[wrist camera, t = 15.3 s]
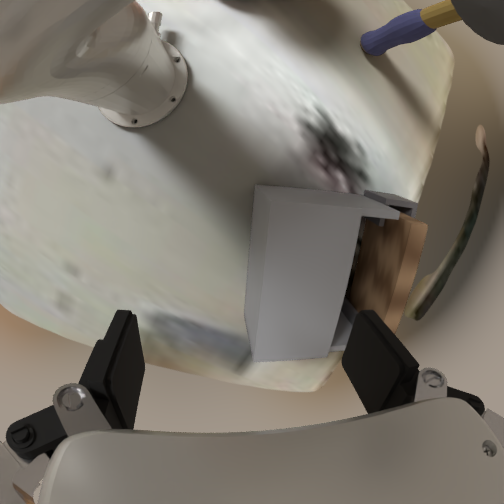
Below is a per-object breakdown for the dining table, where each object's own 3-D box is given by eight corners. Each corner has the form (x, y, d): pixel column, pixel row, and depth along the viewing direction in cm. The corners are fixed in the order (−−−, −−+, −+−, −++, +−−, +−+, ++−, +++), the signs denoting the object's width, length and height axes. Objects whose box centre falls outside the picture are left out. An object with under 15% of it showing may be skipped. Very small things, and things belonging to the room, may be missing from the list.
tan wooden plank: (368, 202, 40) (411, 223, 30) (389, 205, 41) (434, 225, 31) (346, 306, 47) (375, 345, 36) (366, 305, 47) (397, 342, 37)
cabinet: (255, 178, 37) (271, 192, 27) (394, 194, 40) (440, 212, 30) (243, 318, 44) (252, 366, 34) (366, 313, 48) (396, 351, 38)
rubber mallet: (376, 14, 29) (520, -47, 1) (404, 51, 31) (561, 22, 4) (324, 43, 31) (485, -50, 3) (356, 83, 33) (545, 50, 6)
